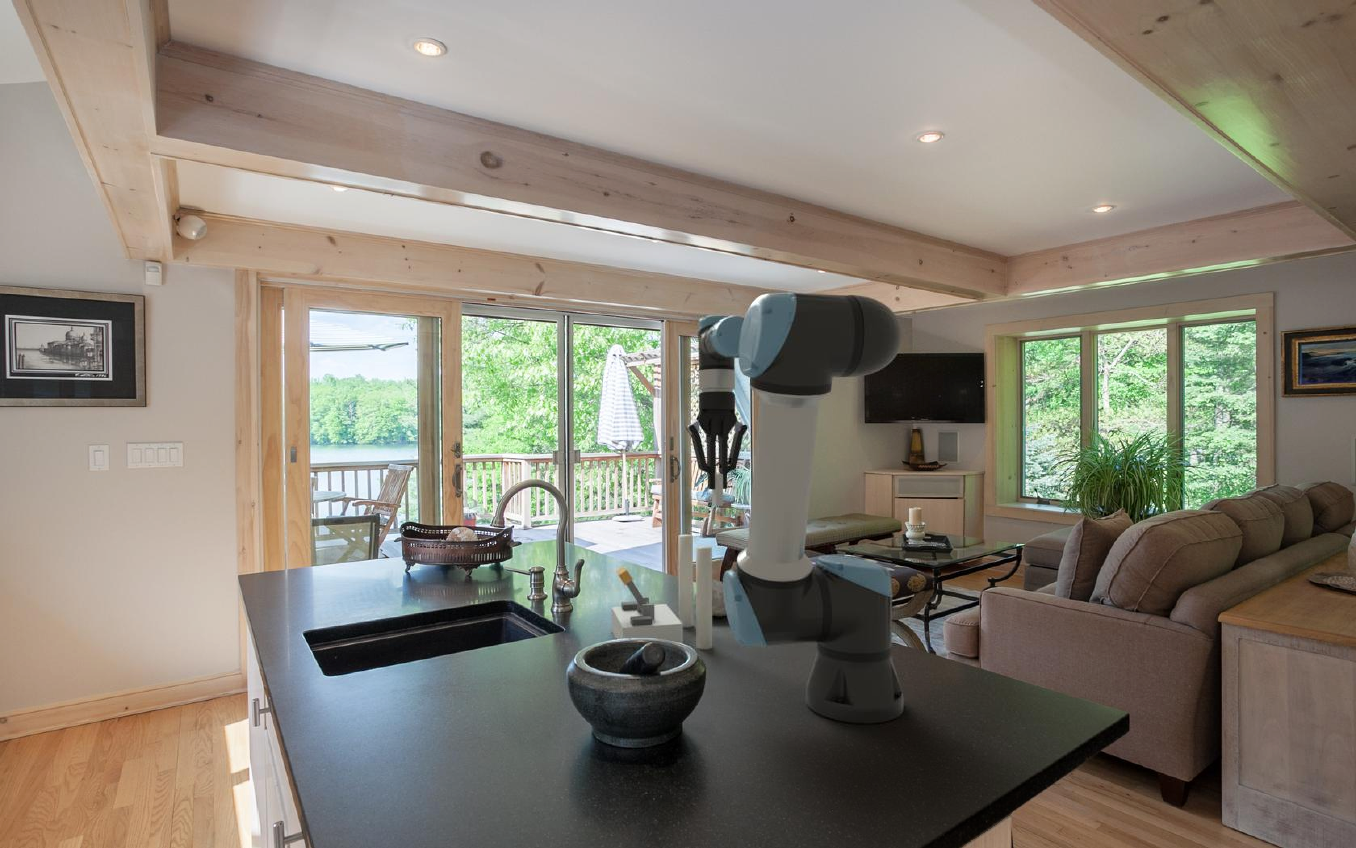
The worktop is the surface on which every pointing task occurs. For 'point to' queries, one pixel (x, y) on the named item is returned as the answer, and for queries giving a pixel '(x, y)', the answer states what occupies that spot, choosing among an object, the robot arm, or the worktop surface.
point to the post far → (685, 579)
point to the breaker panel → (646, 621)
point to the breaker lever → (631, 585)
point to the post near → (704, 597)
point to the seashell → (717, 599)
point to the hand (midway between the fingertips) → (717, 505)
